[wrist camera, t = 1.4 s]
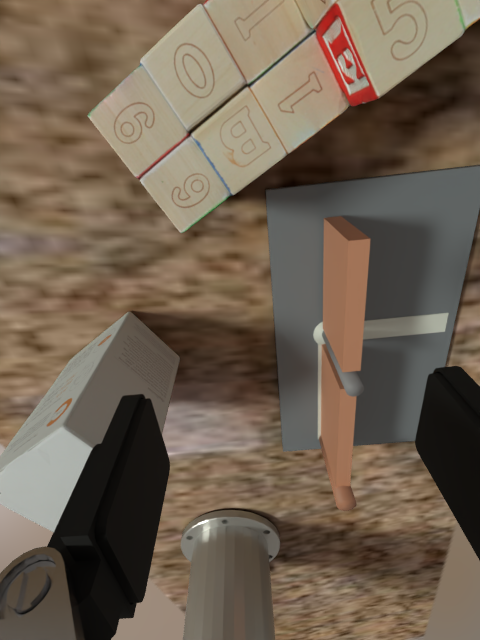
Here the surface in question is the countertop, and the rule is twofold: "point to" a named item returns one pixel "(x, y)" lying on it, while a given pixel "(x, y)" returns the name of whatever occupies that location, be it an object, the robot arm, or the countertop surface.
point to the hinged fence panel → (345, 298)
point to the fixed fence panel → (337, 432)
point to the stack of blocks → (260, 87)
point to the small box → (82, 417)
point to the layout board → (371, 293)
